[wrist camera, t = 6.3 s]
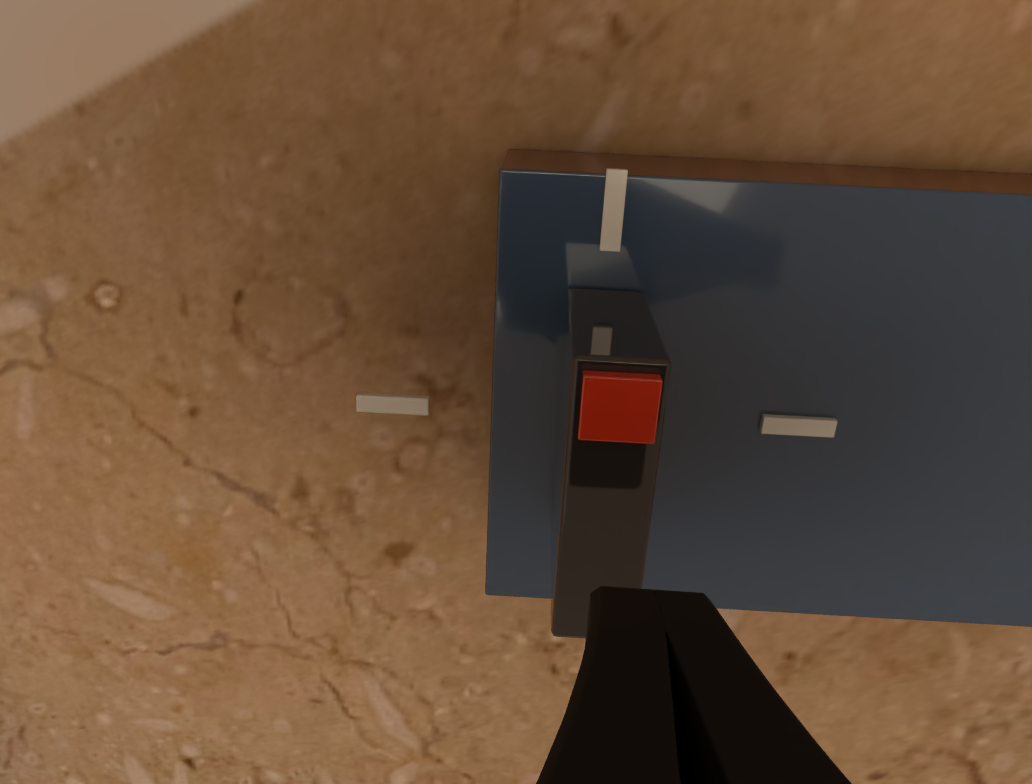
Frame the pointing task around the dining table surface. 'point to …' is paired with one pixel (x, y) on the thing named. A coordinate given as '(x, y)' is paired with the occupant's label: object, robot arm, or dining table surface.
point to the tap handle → (605, 449)
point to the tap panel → (783, 377)
